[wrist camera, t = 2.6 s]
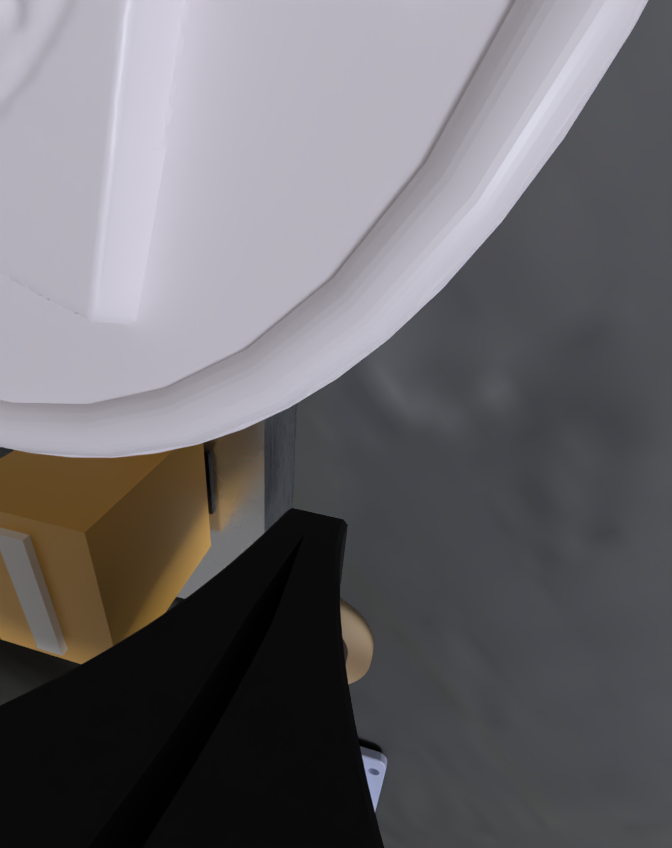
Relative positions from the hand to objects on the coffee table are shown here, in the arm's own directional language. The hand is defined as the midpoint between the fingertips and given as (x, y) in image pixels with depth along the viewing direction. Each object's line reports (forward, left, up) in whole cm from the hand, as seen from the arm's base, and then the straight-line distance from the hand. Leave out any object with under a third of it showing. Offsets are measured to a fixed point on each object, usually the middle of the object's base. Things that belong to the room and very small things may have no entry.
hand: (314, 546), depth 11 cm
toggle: (0, +5, -1) cm, 5 cm away
